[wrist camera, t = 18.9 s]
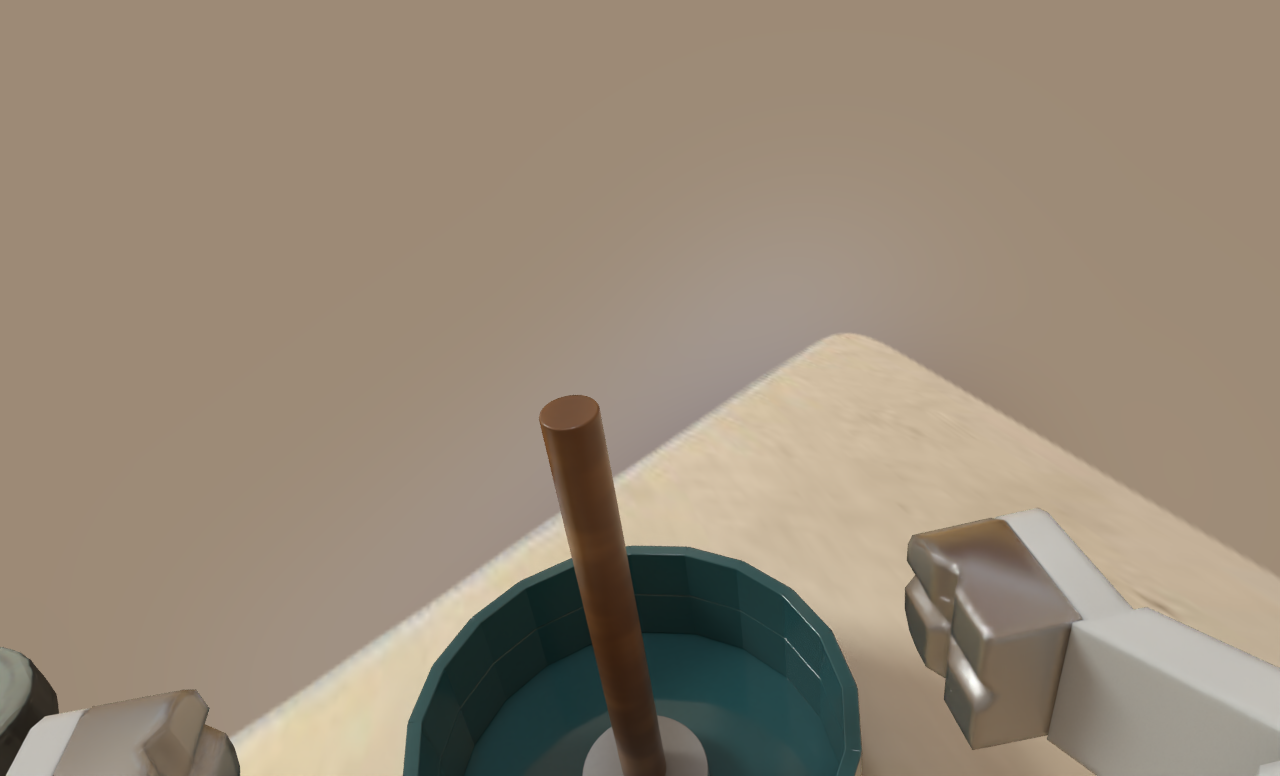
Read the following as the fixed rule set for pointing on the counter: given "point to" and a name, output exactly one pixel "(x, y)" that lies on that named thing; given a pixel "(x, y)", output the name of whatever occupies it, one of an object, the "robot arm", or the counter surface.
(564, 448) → the wooden dowel stand
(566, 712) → the bowl
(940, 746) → the counter surface
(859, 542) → the counter surface
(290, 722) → the counter surface
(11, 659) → the sauce bottle
